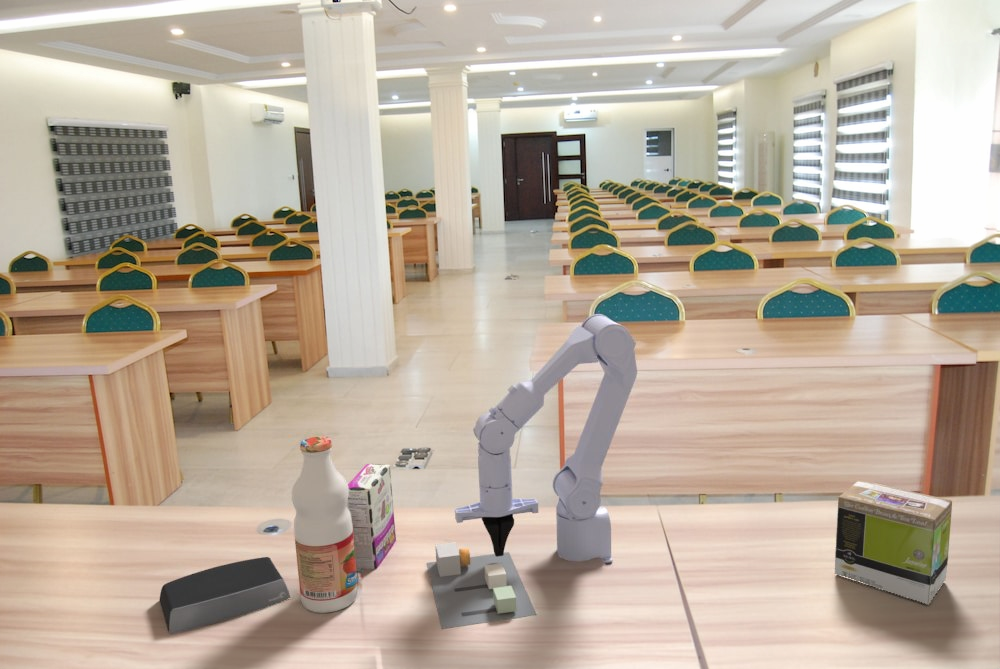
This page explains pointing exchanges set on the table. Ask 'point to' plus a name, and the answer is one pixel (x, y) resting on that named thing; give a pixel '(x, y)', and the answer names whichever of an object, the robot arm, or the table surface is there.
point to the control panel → (472, 588)
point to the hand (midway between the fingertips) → (498, 553)
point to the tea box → (893, 539)
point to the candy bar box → (372, 515)
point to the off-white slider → (495, 576)
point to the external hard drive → (221, 594)
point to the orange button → (464, 556)
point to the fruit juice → (323, 531)
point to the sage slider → (504, 599)
